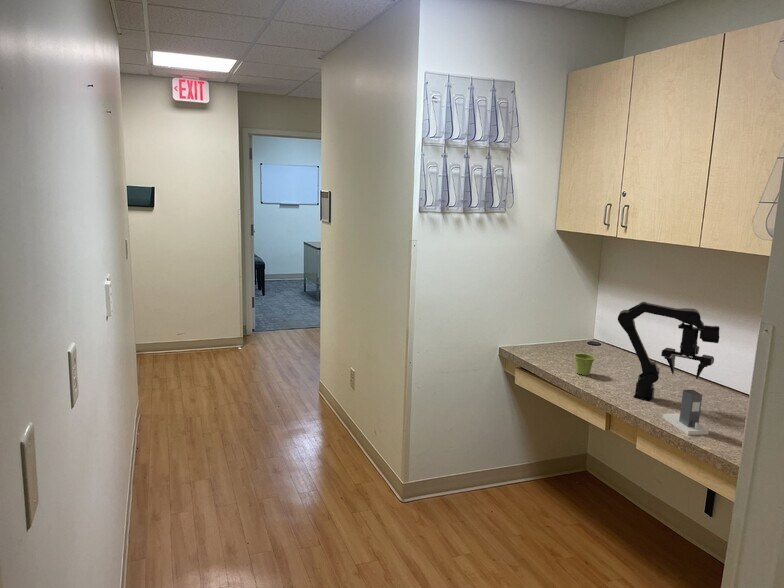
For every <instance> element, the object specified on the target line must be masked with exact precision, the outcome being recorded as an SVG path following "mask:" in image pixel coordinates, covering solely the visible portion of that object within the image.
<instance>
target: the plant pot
mask: <svg viewBox="0 0 784 588" xmlns="http://www.w3.org/2000/svg"><path fill="white" fill-rule="evenodd" d="M573 356H574V359H575V373H576V372H577V373H578V374H577V373H576V374H577V375H579V374H580V375H581V374H582V376H589V375H590V373H591V370H592V366H593V363H594V360H596V358H595V357H596V356H594V355H591V354H588V353H575V354H574V355H573ZM588 374H589V375H588Z"/></svg>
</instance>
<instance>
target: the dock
mask: <svg viewBox="0 0 784 588" xmlns="http://www.w3.org/2000/svg"><path fill="white" fill-rule="evenodd" d="M662 418H663V419H664V420H666V421H667V422H669V423H670V425H671V424H672V425H673V426H674V427H675V428H677V429H679V430H680V431H682V432H683V433H685V434H686V435H688V436H692V435H693V436H696V435H709V434H710V433H709V431H710V430H708V428H706V427H704V426H702V425H701V424H700V422H699V423H698V422H695V427H687V426H686V425H684V424H683V423H681V422H680V421H679V418H680V412H679V413H663V414H662Z"/></svg>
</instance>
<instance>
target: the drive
mask: <svg viewBox="0 0 784 588" xmlns="http://www.w3.org/2000/svg"><path fill="white" fill-rule="evenodd" d="M702 400H703V394H701V393H700V392H698V391H696V390H695V389H682V395H681V404H680V412H679V413H680V418H679V421H680V422H681V423H683V424H684V425H686V426H687V427H695V422H698V423H699V424H700V415H701V407H702Z"/></svg>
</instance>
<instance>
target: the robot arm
mask: <svg viewBox="0 0 784 588" xmlns="http://www.w3.org/2000/svg"><path fill="white" fill-rule="evenodd" d="M644 313H646V314H651V315H656V316H661V317H666V318H669V319H671V318H672V319H675V320H677V321H680V322H681V323H680V324H678V326H677V327H678V329H681V330H682V333H681V341H680V345H679V351H676V348H672V347H671V348H670V347H666V348H664V349H662V350H661V352H660V353H661V355H660V356H661V357H664V360H666V361H667V362H668V365H669V368H670V371H671V374H672V375H674V374H675V368H676V367H675V362H676V357H678V358H683V359H689V360H693V361H697V362H698V361H699V364H698V366H697V371H696V376H695V379H696V380H698V379H699V377H700V376H701V373H702V372H703V370H704V369H705V368H708V367H709V366H712V365H713V364H714V363H715V357H714V356H712V355H708V354H702V356H700V355H699V352H700V346H699V345H698V338H699V340H701V341H702V342H705V343H711V344H719V342H720V341H719V340H720V326H719V325H707V324H704V322H703V321H702V319H701V314H700V312H699V311H698V310H697V309H696V308H686V307H685V308H683V307H681V308H676V307H671V306H665V305H660V304H655V303H650V302H646V301H642V302H640V303H638V304H636V305H634V306H633V307H631V308H629V309H623V310H621V311H620V312H619V314H618V316H617V322H618V323H619V325H620V326H621V327H622V329H623V331H624V332H625V333H626V334H627V337H628V338H629V341H630V343H631V345H632V347H633V350H634V352H635V354H636V356H637V358H638V360H639V363H640V367H641V373H640V374H638V377H637V382H635V383H636V384H635V393H634V395H633V398H636V399H639V400H644V401H647V402H648V401H649V402H650V401H651V400H652V399H654V397H655V388H654V386H655V383H657V382H658V381H659V376H660V375H659V374H660V368H659V367H658V364H657V361H656V360H655V361H652V360H651V359H650V357H649V355H648V353H647V350H646V348H645V346H644V343H643V342H642V339H641V337H640V334H639V332H638V330H637V327H636V322H635V321H636V319H637V318H638V317H640V316H641V315H643V314H644Z"/></svg>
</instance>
